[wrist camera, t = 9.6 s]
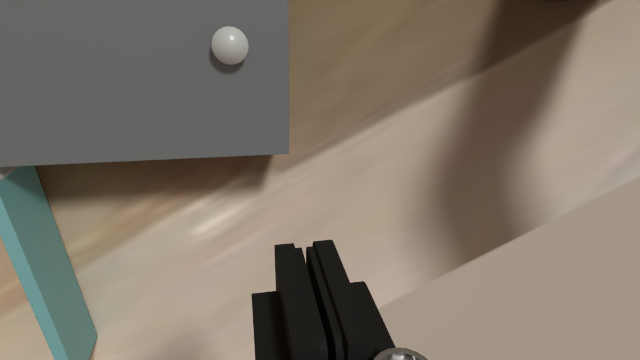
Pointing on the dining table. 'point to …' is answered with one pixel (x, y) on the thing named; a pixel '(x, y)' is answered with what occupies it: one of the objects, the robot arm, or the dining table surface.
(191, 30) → the camera body
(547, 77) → the dining table surface
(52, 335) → the side door
